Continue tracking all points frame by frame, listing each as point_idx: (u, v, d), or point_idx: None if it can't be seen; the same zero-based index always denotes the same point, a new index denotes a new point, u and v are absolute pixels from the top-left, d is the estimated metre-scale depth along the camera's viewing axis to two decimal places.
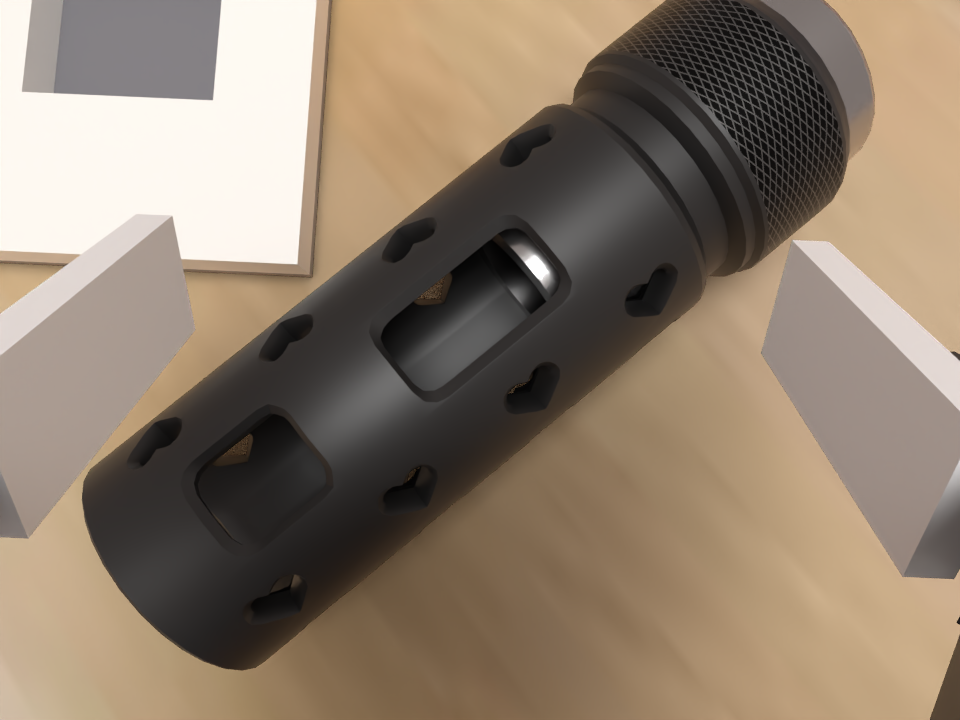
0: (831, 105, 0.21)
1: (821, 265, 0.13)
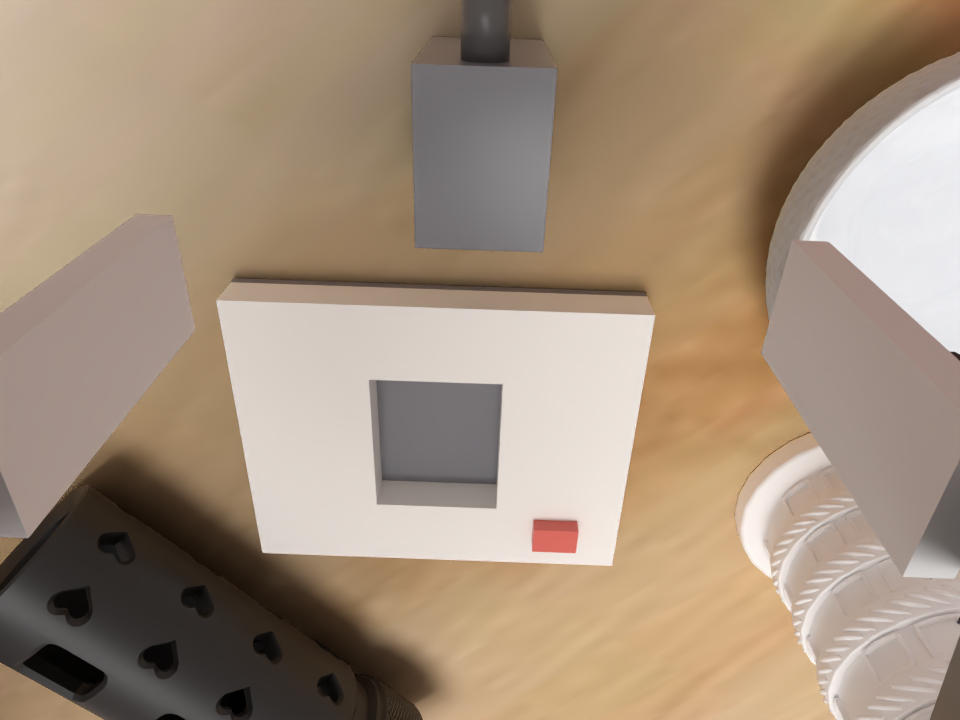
0: None
1: (821, 265, 0.13)
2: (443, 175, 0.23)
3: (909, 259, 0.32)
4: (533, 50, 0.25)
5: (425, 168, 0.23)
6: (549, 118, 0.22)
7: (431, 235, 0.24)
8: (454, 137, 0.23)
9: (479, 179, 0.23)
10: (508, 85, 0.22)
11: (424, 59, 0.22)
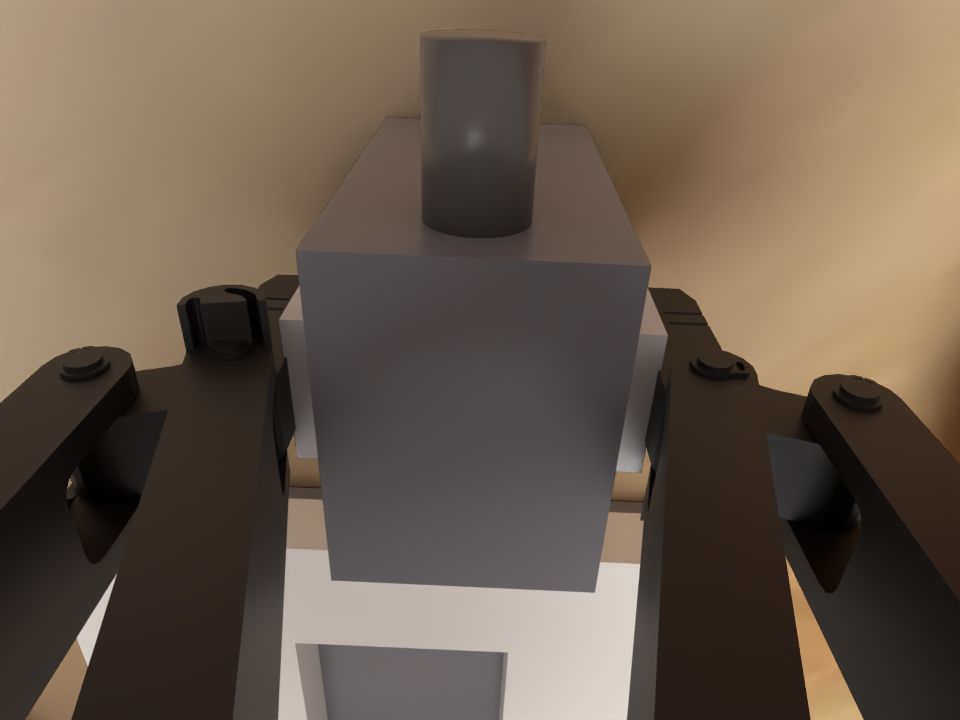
0: None
1: None
2: (383, 464, 0.11)
3: None
4: (576, 168, 0.13)
5: (344, 452, 0.10)
6: (625, 366, 0.10)
7: (363, 562, 0.12)
8: (405, 397, 0.10)
9: (462, 473, 0.11)
10: (532, 300, 0.09)
11: (337, 223, 0.10)
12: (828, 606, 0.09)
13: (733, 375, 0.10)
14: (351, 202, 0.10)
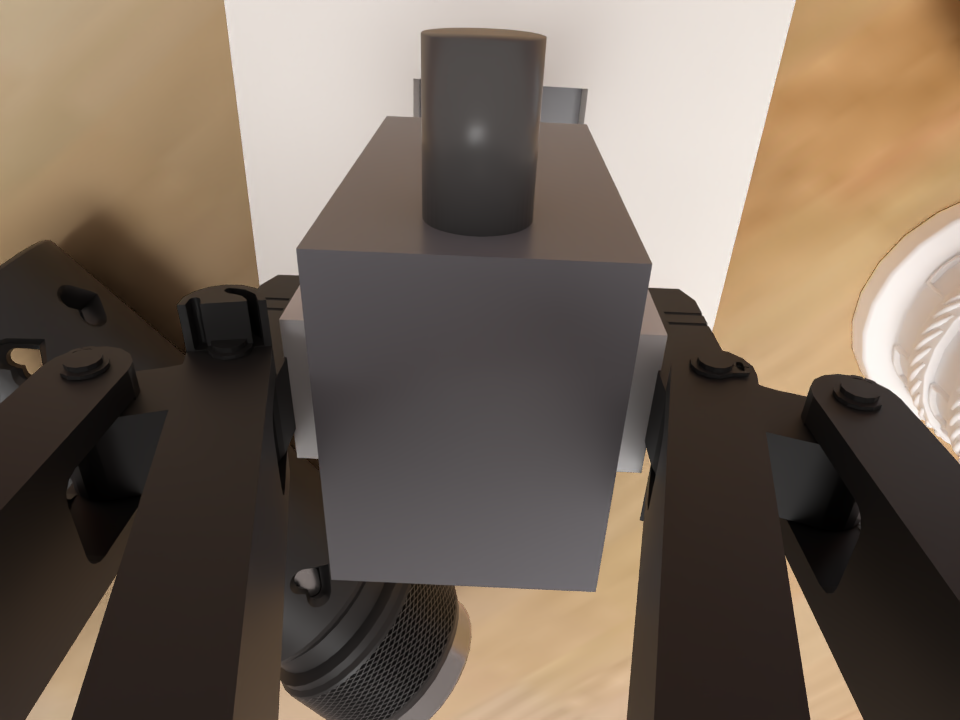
0: None
1: None
2: (384, 463, 0.11)
3: None
4: (576, 167, 0.13)
5: (345, 450, 0.10)
6: (625, 365, 0.10)
7: (364, 561, 0.12)
8: (406, 395, 0.10)
9: (462, 471, 0.11)
10: (533, 298, 0.09)
11: (337, 221, 0.10)
12: (828, 607, 0.09)
13: (733, 374, 0.10)
14: (351, 200, 0.10)
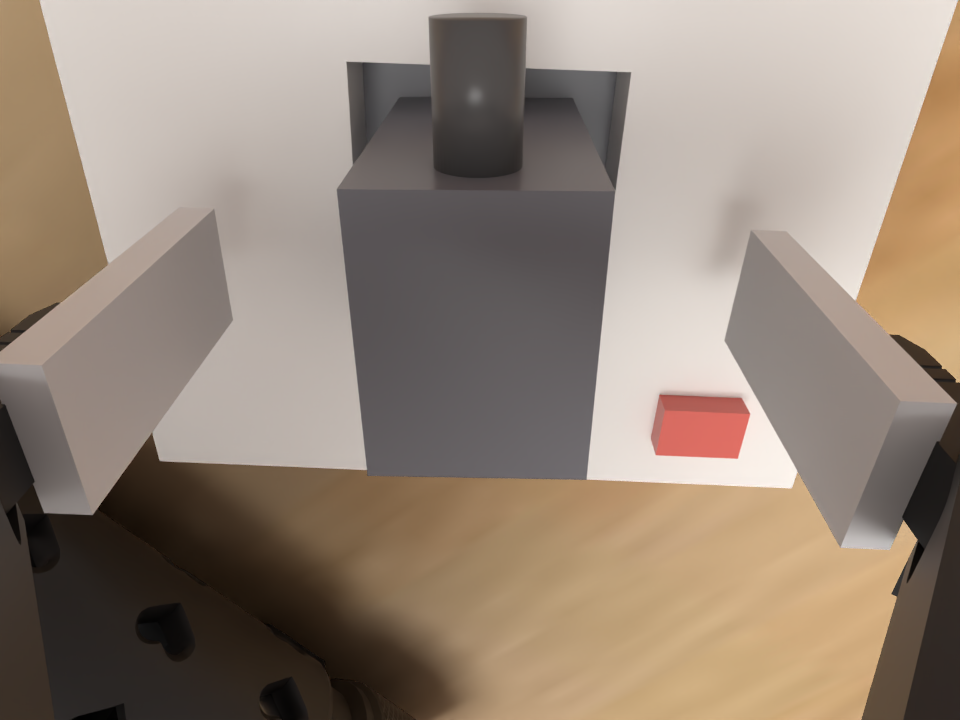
0: None
1: (775, 253, 0.14)
2: (408, 369, 0.13)
3: None
4: (561, 129, 0.15)
5: (377, 360, 0.13)
6: (600, 277, 0.12)
7: (394, 458, 0.14)
8: (425, 309, 0.12)
9: (472, 374, 0.13)
10: (522, 223, 0.12)
11: (366, 171, 0.12)
12: None
13: None
14: (376, 157, 0.13)
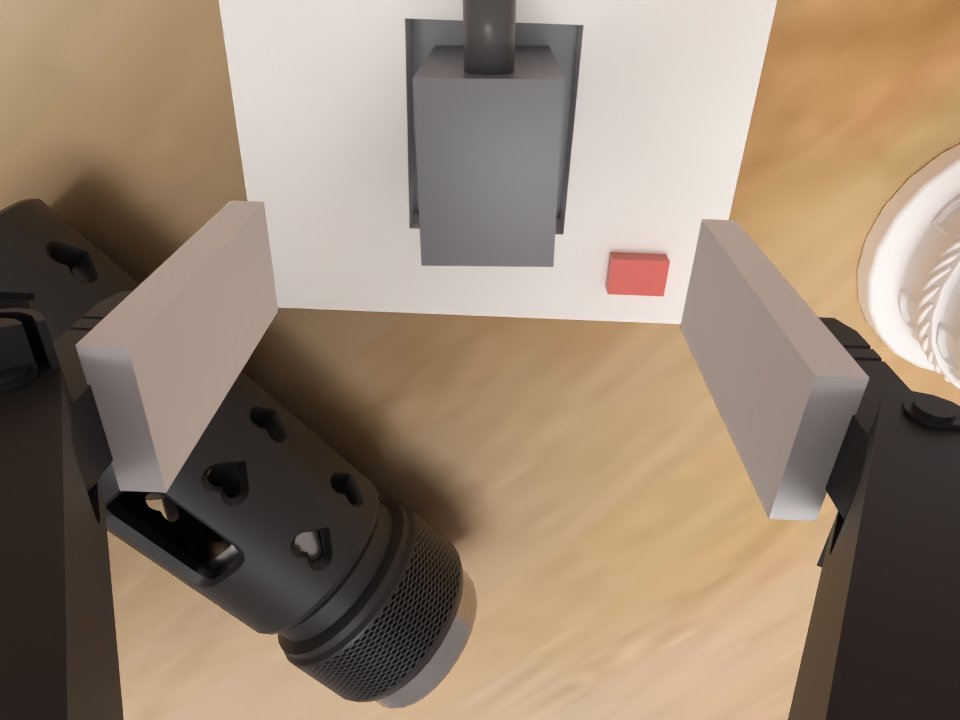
0: None
1: (722, 240, 0.14)
2: (448, 191, 0.22)
3: None
4: (539, 58, 0.24)
5: (430, 184, 0.22)
6: (557, 130, 0.21)
7: (437, 252, 0.24)
8: (458, 152, 0.22)
9: (485, 194, 0.22)
10: (514, 98, 0.21)
11: (426, 72, 0.22)
12: None
13: (954, 427, 0.09)
14: (429, 68, 0.22)
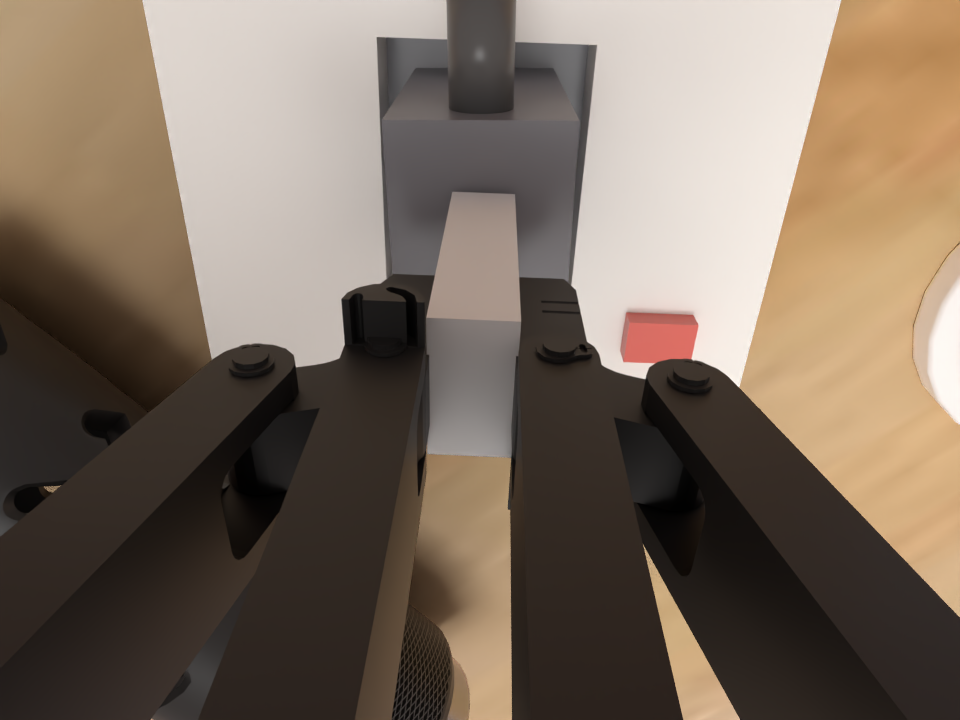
0: None
1: (486, 211, 0.15)
2: (430, 259, 0.18)
3: None
4: (543, 87, 0.20)
5: (407, 252, 0.18)
6: (569, 185, 0.17)
7: None
8: (443, 212, 0.17)
9: None
10: (514, 144, 0.16)
11: (400, 110, 0.17)
12: (684, 589, 0.09)
13: (577, 357, 0.10)
14: (405, 103, 0.18)
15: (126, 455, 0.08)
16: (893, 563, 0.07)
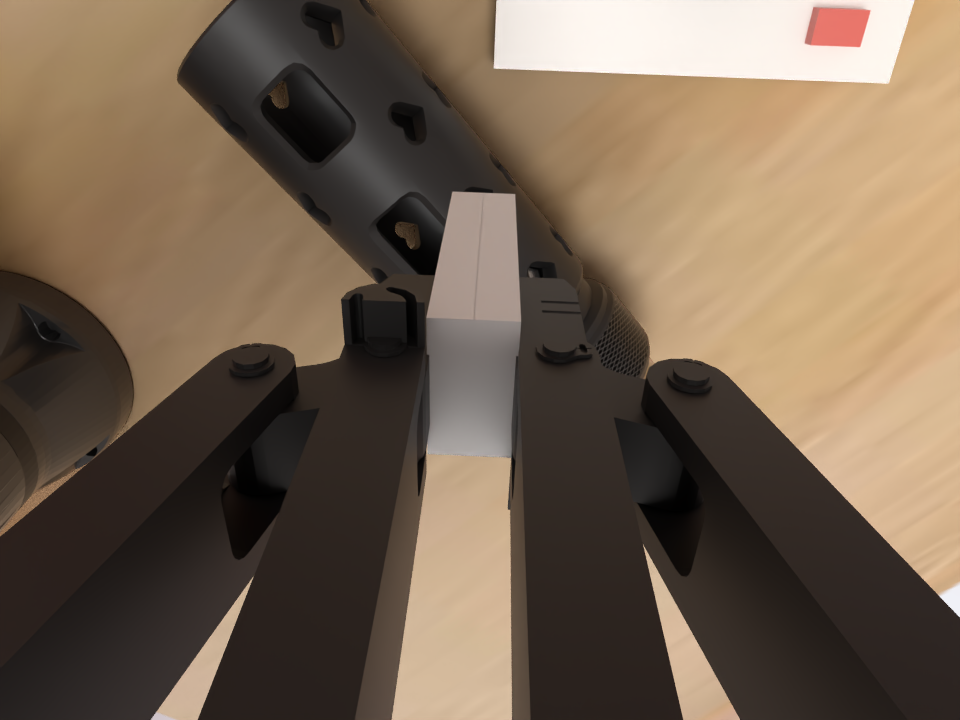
0: None
1: (486, 211, 0.15)
2: None
3: None
4: None
5: None
6: None
7: None
8: None
9: None
10: None
11: None
12: (684, 589, 0.09)
13: (578, 357, 0.10)
14: None
15: (126, 455, 0.08)
16: (893, 563, 0.07)
